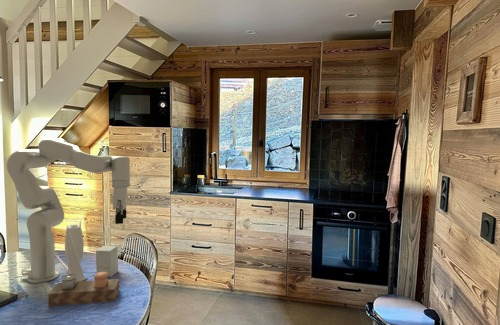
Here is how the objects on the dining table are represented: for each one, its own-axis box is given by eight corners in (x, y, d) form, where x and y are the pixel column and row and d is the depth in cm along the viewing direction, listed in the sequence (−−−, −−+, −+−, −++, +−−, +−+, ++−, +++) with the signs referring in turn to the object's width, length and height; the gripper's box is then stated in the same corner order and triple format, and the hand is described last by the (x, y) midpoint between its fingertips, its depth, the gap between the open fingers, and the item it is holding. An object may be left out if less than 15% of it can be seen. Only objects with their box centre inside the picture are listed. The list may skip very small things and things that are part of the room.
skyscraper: (90, 279, 150) (88, 219, 148) (75, 286, 143) (74, 223, 141) (75, 276, 153) (74, 218, 151) (60, 283, 145) (59, 222, 143)
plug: (60, 294, 128) (59, 279, 128) (64, 288, 133) (64, 274, 133) (74, 293, 129) (74, 278, 129) (78, 287, 134) (78, 273, 134)
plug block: (48, 306, 126) (48, 294, 125) (58, 294, 135) (58, 282, 135) (114, 301, 130) (114, 289, 130) (119, 290, 140) (119, 278, 140)
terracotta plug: (92, 292, 131) (92, 277, 130) (96, 286, 136) (96, 272, 135) (106, 291, 132) (106, 276, 131) (109, 285, 137) (109, 271, 136)
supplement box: (118, 271, 160) (118, 245, 159) (110, 277, 153) (110, 251, 152) (104, 270, 161) (104, 245, 160) (95, 276, 153) (95, 250, 153)
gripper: (115, 181, 155) (115, 216, 156) (108, 186, 138) (108, 226, 139) (132, 181, 156) (132, 216, 158) (126, 186, 140) (127, 225, 141)
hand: (121, 220), depth 148 cm, fingers open, 9 cm apart
